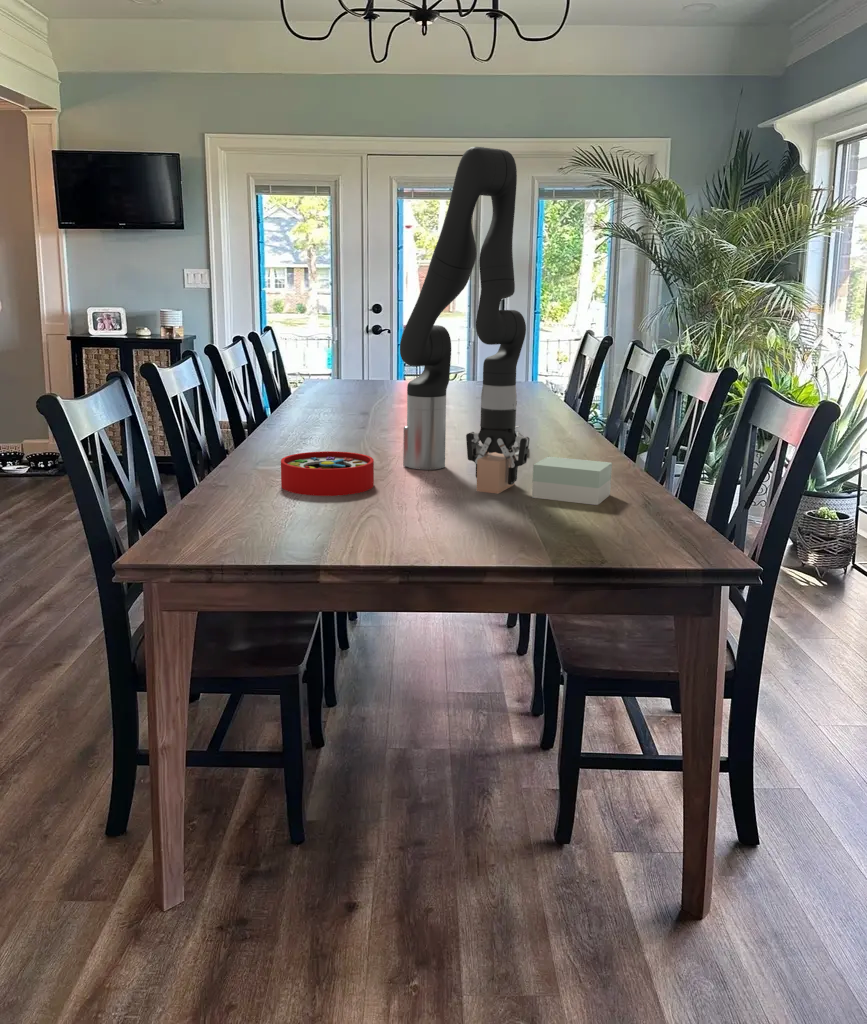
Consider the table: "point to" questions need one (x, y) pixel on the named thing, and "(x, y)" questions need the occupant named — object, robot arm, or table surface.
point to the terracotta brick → (492, 473)
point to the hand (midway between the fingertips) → (496, 482)
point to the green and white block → (571, 480)
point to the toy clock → (327, 473)
